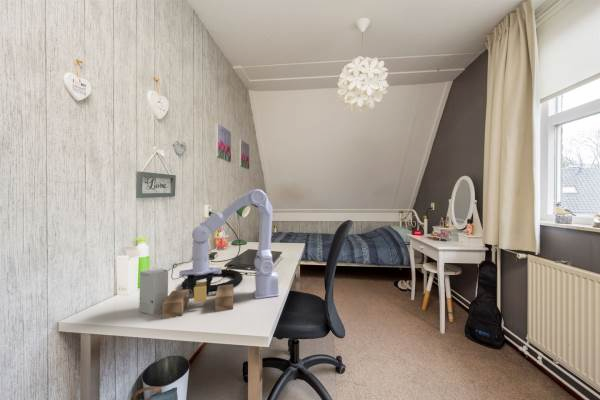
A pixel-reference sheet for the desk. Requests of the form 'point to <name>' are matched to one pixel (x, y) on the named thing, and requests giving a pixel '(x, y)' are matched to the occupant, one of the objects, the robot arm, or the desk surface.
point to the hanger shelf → (180, 298)
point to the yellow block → (200, 292)
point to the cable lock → (213, 288)
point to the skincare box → (153, 290)
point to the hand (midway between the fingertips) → (201, 294)
